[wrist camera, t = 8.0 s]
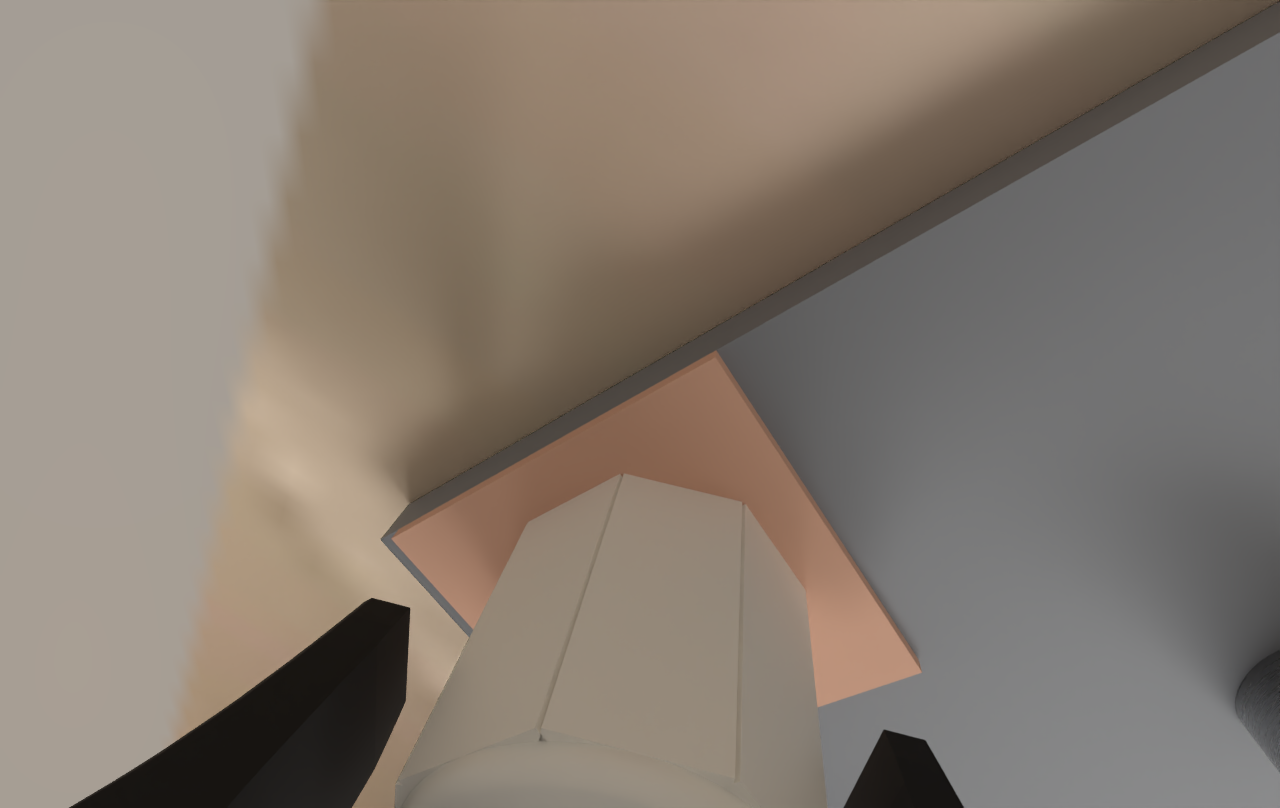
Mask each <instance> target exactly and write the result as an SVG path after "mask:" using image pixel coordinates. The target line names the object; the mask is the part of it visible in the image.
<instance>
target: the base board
mask: <svg viewBox="0 0 1280 808" xmlns="http://www.w3.org/2000/svg"><path fill="white" fill-rule="evenodd" d="M714 351H717V352H718V354H719V355H720V357H721V358H722V360H723V361H724V363H725V364H726V366H727V367H728V369H729V370H730V372H731V374H732V375H733V377H734V378H735V380H736V381H737V383H738V384H739V386H740V387H741V389H742V390H743V392H744V393H745V395H746V396H747V398H748V400H749V401H750V403H751V404H752V406H753V407H754V409H755V410H756V412H757V413H758V415H759V416H760V418H761V419H762V421H763V422H764V424H765V426H766V427H767V429H768V430H769V432H770V433H771V435H772V436H773V438H774V439H775V441H776V442H777V444H778V445H779V447H780V448H781V450H782V452H783V453H784V455H785V456H786V458H787V459H788V461H789V462H790V464H791V465H792V467H793V468H794V470H795V471H796V473H797V474H798V476H799V478H800V479H801V481H802V482H803V484H804V485H805V487H806V488H807V490H808V491H809V493H810V494H811V496H812V497H813V499H814V500H815V502H816V504H817V505H818V507H819V508H820V510H821V511H822V513H823V514H824V516H825V517H826V519H827V520H828V522H829V523H830V525H831V526H832V528H833V530H834V531H835V533H836V534H837V536H838V537H839V539H840V540H841V542H842V543H843V545H844V546H845V548H846V549H847V551H848V552H849V554H850V556H851V557H852V559H853V560H854V562H855V563H856V565H857V566H858V568H859V569H860V571H861V572H862V574H863V575H864V577H865V578H866V580H867V582H868V583H869V585H870V586H871V588H872V589H873V591H874V592H875V594H876V595H877V597H878V598H879V600H880V601H881V603H882V604H883V606H884V608H885V609H886V611H887V612H888V614H889V615H890V617H891V618H892V620H893V621H894V623H895V624H896V626H897V627H898V629H899V630H900V632H901V634H902V635H903V637H904V638H905V640H906V641H907V643H908V644H909V646H910V647H911V649H912V650H913V652H914V653H915V655H916V656H917V658H918V660H919V663H920V666H921V670H922V673H919V674H916V675H913V676H910V677H907V678H904V679H901V680H898V681H895V682H892V683H889V684H886V685H883V686H880V687H877V688H874V689H871V690H868V691H865V692H862V693H859V694H856V695H853V696H850V697H847V698H844V699H841V700H838V701H835V702H832V703H829V704H826V705H823V706H820V707H817V708H818V718H819V728H820V738H821V747H822V757H823V767H824V777H825V787H826V797H827V807H828V808H844V806H845V804H846V802H847V800H848V798H849V796H850V794H851V792H852V790H853V788H854V786H855V784H856V782H857V780H858V778H859V776H860V774H861V772H862V771H863V769H864V767H865V765H866V763H867V761H868V759H869V757H870V755H871V753H872V751H873V749H874V747H875V745H876V743H877V741H878V739H879V737H880V735H881V734H882V732H883V730H884V729H885V730H888V731H892V732H896V733H900V734H904V735H908V736H912V737H916V738H920V739H924V740H926V742H927V744H928V745H929V747H930V749H931V750H932V752H933V754H934V756H935V757H936V759H937V761H938V762H939V764H940V766H941V768H942V769H943V771H944V773H945V775H946V776H947V778H948V780H949V782H950V783H951V785H952V787H953V789H954V791H955V792H956V794H957V796H958V798H959V799H960V801H961V803H962V805H963V806H964V808H1280V773H1279V772H1278V771H1277V769H1276V768H1275V767H1274V765H1273V764H1272V763H1271V761H1270V760H1269V759H1268V757H1267V756H1266V755H1265V753H1264V752H1263V751H1262V749H1261V748H1260V747H1259V745H1258V744H1257V743H1256V741H1255V740H1254V739H1253V737H1252V736H1251V735H1250V733H1249V732H1248V731H1247V729H1246V728H1245V727H1244V725H1243V724H1242V723H1241V721H1240V719H1239V718H1238V715H1237V713H1236V708H1235V697H1236V693H1237V690H1238V688H1239V686H1240V684H1241V682H1242V680H1243V679H1244V678H1245V676H1246V675H1247V674H1248V673H1249V672H1250V670H1251V669H1252V668H1253V667H1255V666H1256V665H1257V664H1258V663H1259V662H1261V661H1262V660H1264V659H1265V658H1267V657H1268V656H1269V655H1271V654H1273V653H1275V652H1277V651H1279V650H1280V1H1279V2H1278V3H1276V4H1274V5H1272V6H1271V7H1269V8H1267V9H1265V10H1264V11H1262V12H1260V13H1259V14H1257V15H1255V16H1253V17H1252V18H1250V19H1248V20H1246V21H1245V22H1243V23H1241V24H1239V25H1238V26H1236V27H1234V28H1233V29H1231V30H1229V31H1227V32H1226V33H1224V34H1222V35H1220V36H1219V37H1217V38H1215V39H1214V40H1212V41H1210V42H1208V43H1207V44H1205V45H1203V46H1201V47H1200V48H1198V49H1196V50H1194V51H1193V52H1191V53H1189V54H1188V55H1186V56H1184V57H1182V58H1181V59H1179V60H1177V61H1175V62H1174V63H1172V64H1170V65H1169V66H1167V67H1165V68H1163V69H1162V70H1160V71H1158V72H1156V73H1155V74H1153V75H1151V76H1149V77H1148V78H1146V79H1144V80H1143V81H1141V82H1139V83H1137V84H1136V85H1134V86H1132V87H1130V88H1129V89H1127V90H1125V91H1124V92H1122V93H1120V94H1118V95H1117V96H1115V97H1113V98H1111V99H1110V100H1108V101H1106V102H1104V103H1103V104H1101V105H1099V106H1098V107H1096V108H1094V109H1092V110H1091V111H1089V112H1087V113H1085V114H1084V115H1082V116H1080V117H1079V118H1077V119H1075V120H1073V121H1072V122H1070V123H1068V124H1066V125H1065V126H1063V127H1061V128H1060V129H1058V130H1056V131H1054V132H1053V133H1051V134H1049V135H1047V136H1046V137H1044V138H1042V139H1040V140H1039V141H1037V142H1035V143H1034V144H1032V145H1030V146H1028V147H1027V148H1025V149H1023V150H1021V151H1020V152H1018V153H1016V154H1015V155H1013V156H1011V157H1009V158H1008V159H1006V160H1004V161H1002V162H1001V163H999V164H997V165H995V166H994V167H992V168H990V169H989V170H987V171H985V172H983V173H982V174H980V175H978V176H976V177H975V178H973V179H971V180H970V181H968V182H966V183H964V184H963V185H961V186H959V187H957V188H956V189H954V190H952V191H950V192H949V193H947V194H945V195H944V196H942V197H940V198H938V199H937V200H935V201H933V202H931V203H930V204H928V205H926V206H925V207H923V208H921V209H919V210H918V211H916V212H914V213H912V214H911V215H909V216H907V217H905V218H904V219H902V220H900V221H899V222H897V223H895V224H893V225H892V226H890V227H888V228H886V229H885V230H883V231H881V232H880V233H878V234H876V235H874V236H873V237H871V238H869V239H867V240H866V241H864V242H862V243H861V244H859V245H857V246H855V247H854V248H852V249H850V250H848V251H847V252H845V253H843V254H841V255H840V256H838V257H836V258H835V259H833V260H831V261H829V262H828V263H826V264H824V265H822V266H821V267H819V268H817V269H816V270H814V271H812V272H810V273H809V274H807V275H805V276H803V277H802V278H800V279H798V280H796V281H795V282H793V283H791V284H790V285H788V286H786V287H784V288H783V289H781V290H779V291H777V292H776V293H774V294H772V295H771V296H769V297H767V298H765V299H764V300H762V301H760V302H758V303H757V304H755V305H753V306H751V307H750V308H748V309H746V310H745V311H743V312H741V313H739V314H738V315H736V316H734V317H732V318H731V319H729V320H727V321H726V322H724V323H722V324H720V325H719V326H717V327H715V328H713V329H712V330H710V331H708V332H706V333H705V334H703V335H701V336H700V337H698V338H696V339H694V340H693V341H691V342H689V343H687V344H686V345H684V346H682V347H681V348H679V349H677V350H675V351H674V352H672V353H670V354H668V355H667V356H665V357H663V358H662V359H660V360H658V361H656V362H655V363H653V364H651V365H649V366H648V367H646V368H644V369H642V370H641V371H639V372H637V373H636V374H634V375H632V376H630V377H629V378H627V379H625V380H623V381H622V382H620V383H618V384H617V385H615V386H613V387H611V388H610V389H608V390H606V391H604V392H603V393H601V394H599V395H597V396H596V397H594V398H592V399H591V400H589V401H587V402H585V403H584V404H582V405H580V406H578V407H577V408H575V409H573V410H572V411H570V412H568V413H566V414H565V415H563V416H561V417H559V418H558V419H556V420H554V421H552V422H551V423H549V424H547V425H546V426H544V427H542V428H540V429H539V430H537V431H535V432H533V433H532V434H530V435H528V436H527V437H525V438H523V439H521V440H520V441H518V442H516V443H514V444H513V445H511V446H509V447H508V448H506V449H504V450H502V451H501V452H499V453H497V454H495V455H494V456H492V457H490V458H488V459H487V460H485V461H483V462H482V463H480V464H478V465H476V466H475V467H473V468H471V469H469V470H468V471H466V472H464V473H463V474H461V475H459V476H457V477H456V478H454V479H452V480H450V481H449V482H447V483H445V484H443V485H442V486H440V487H438V488H437V489H435V490H433V491H431V492H430V493H428V494H426V495H424V496H423V497H421V498H419V499H418V500H416V501H414V502H412V503H411V504H409V505H408V506H407V507H406V508H405V510H404V511H403V512H402V513H401V515H400V516H399V517H398V518H397V520H396V521H395V522H394V523H393V525H392V526H391V527H390V528H389V530H388V531H387V532H386V533H385V535H384V536H383V537H382V538H381V541H382V542H383V543H384V544H385V545H386V546H387V547H388V548H389V550H390V551H391V552H392V553H393V554H394V555H395V556H396V557H397V558H398V559H399V561H400V562H401V563H402V564H403V565H404V566H405V567H406V568H407V569H408V570H409V572H410V573H411V574H412V575H413V576H414V577H415V578H416V579H417V580H418V581H419V583H420V584H421V585H422V586H423V587H424V588H425V589H426V590H427V591H428V592H429V594H430V595H431V596H432V597H433V598H434V599H435V600H436V601H437V602H438V603H439V605H440V606H441V607H442V608H443V609H444V610H445V611H446V612H447V613H448V614H449V616H450V617H451V618H452V619H453V620H454V621H455V622H456V623H457V624H458V625H459V626H460V628H461V629H462V630H463V631H464V632H465V633H466V634H467V635H468V636H469V637H470V635H471V633H472V631H473V629H472V628H471V627H470V626H469V624H468V623H467V622H466V621H465V620H464V619H463V618H462V617H461V616H460V614H459V613H458V612H457V611H456V610H455V609H454V608H453V607H452V606H451V604H450V603H449V602H448V601H447V600H446V599H445V598H444V597H443V596H442V595H441V593H440V592H439V591H438V590H437V589H436V588H435V587H434V586H433V585H432V583H431V582H430V581H429V580H428V579H427V578H426V577H425V576H424V575H423V573H422V572H421V571H420V570H419V569H418V568H417V567H416V566H415V565H414V564H413V562H412V561H411V560H410V559H409V558H408V557H407V556H406V555H405V554H404V552H403V551H402V550H401V549H400V548H399V547H398V546H397V545H396V544H395V543H394V541H393V540H392V539H391V538H392V537H393V536H394V535H395V533H396V532H397V531H398V530H399V529H400V528H402V527H404V526H405V525H407V524H409V523H411V522H413V521H414V520H416V519H418V518H420V517H421V516H423V515H425V514H427V513H428V512H430V511H432V510H434V509H436V508H437V507H439V506H441V505H443V504H444V503H446V502H448V501H450V500H452V499H453V498H455V497H457V496H459V495H460V494H462V493H464V492H466V491H467V490H469V489H471V488H473V487H475V486H476V485H478V484H480V483H482V482H483V481H485V480H487V479H489V478H491V477H492V476H494V475H496V474H498V473H499V472H501V471H503V470H505V469H506V468H508V467H510V466H512V465H514V464H515V463H517V462H519V461H521V460H522V459H524V458H526V457H528V456H530V455H531V454H533V453H535V452H537V451H538V450H540V449H542V448H544V447H545V446H547V445H549V444H551V443H553V442H554V441H556V440H558V439H560V438H561V437H563V436H565V435H567V434H569V433H570V432H572V431H574V430H576V429H577V428H579V427H581V426H583V425H584V424H586V423H588V422H590V421H592V420H593V419H595V418H597V417H599V416H600V415H602V414H604V413H606V412H608V411H609V410H611V409H613V408H615V407H616V406H618V405H620V404H622V403H623V402H625V401H627V400H629V399H631V398H632V397H634V396H636V395H638V394H639V393H641V392H643V391H645V390H647V389H648V388H650V387H652V386H654V385H655V384H657V383H659V382H661V381H662V380H664V379H666V378H668V377H670V376H671V375H673V374H675V373H677V372H678V371H680V370H682V369H684V368H686V367H687V366H689V365H691V364H693V363H694V362H696V361H698V360H700V359H701V358H703V357H705V356H707V355H709V354H710V353H712V352H714Z"/></svg>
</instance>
